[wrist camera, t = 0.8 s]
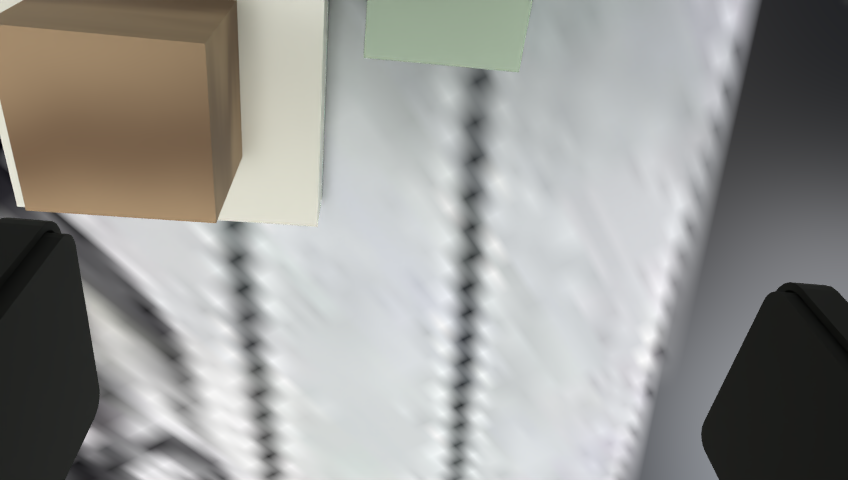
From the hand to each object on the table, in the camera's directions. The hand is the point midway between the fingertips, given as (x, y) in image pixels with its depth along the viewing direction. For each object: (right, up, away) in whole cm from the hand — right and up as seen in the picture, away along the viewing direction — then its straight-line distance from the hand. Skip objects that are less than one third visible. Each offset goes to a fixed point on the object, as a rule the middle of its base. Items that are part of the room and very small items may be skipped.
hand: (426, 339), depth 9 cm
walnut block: (-10, +7, +15) cm, 20 cm away
